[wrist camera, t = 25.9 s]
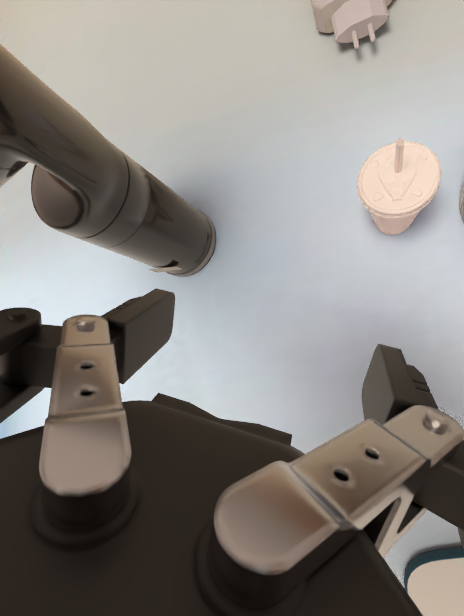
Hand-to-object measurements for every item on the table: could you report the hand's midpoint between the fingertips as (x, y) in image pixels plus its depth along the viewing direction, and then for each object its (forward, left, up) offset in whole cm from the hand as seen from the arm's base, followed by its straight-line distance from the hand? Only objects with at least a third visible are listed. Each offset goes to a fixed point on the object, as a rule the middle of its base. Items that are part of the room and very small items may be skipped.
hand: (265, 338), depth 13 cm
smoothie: (0, +15, -27) cm, 31 cm away
